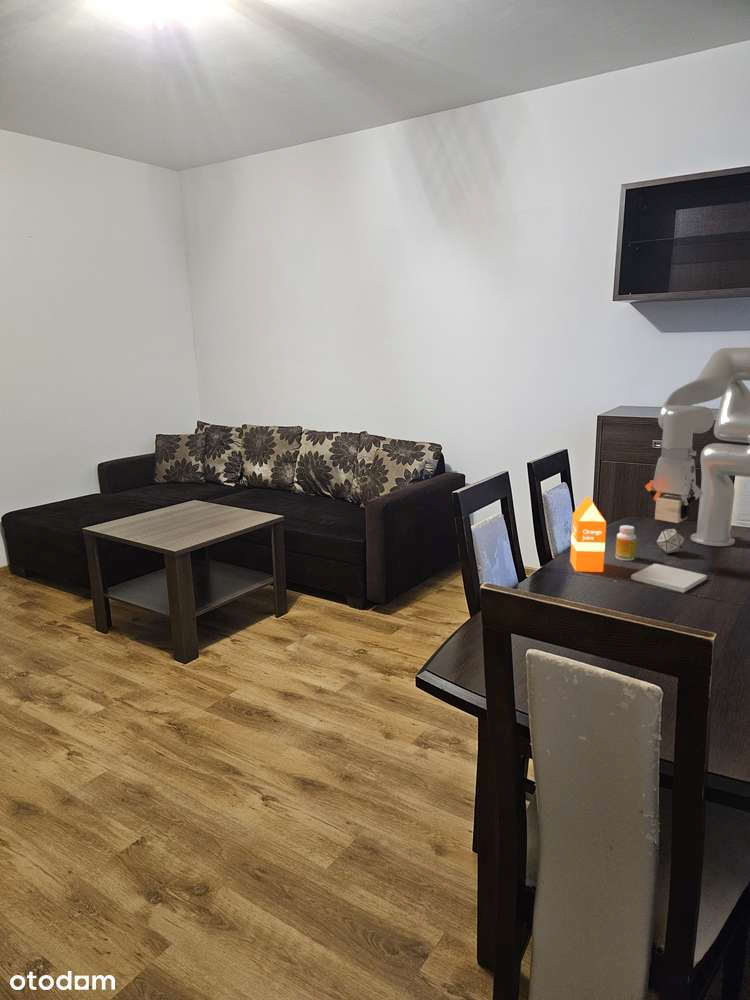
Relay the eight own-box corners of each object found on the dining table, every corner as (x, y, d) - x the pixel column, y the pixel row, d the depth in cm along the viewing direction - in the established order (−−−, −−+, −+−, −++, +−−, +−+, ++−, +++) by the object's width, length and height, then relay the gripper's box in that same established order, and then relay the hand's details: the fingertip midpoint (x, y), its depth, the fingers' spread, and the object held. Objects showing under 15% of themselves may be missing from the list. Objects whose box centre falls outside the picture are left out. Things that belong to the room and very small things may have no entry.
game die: (674, 566, 194) (692, 546, 187) (647, 555, 195) (664, 535, 188) (675, 545, 200) (693, 525, 193) (649, 535, 201) (666, 515, 194)
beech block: (664, 514, 186) (666, 494, 185) (687, 518, 182) (689, 497, 180) (654, 518, 182) (656, 498, 181) (677, 523, 178) (679, 502, 176)
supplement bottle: (632, 562, 187) (635, 530, 185) (613, 559, 190) (615, 527, 188) (636, 557, 192) (638, 525, 189) (617, 554, 194) (619, 523, 192)
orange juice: (596, 562, 188) (601, 495, 183) (603, 572, 179) (608, 502, 175) (569, 561, 189) (573, 495, 184) (574, 571, 180) (578, 502, 176)
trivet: (654, 567, 182) (655, 563, 182) (706, 579, 172) (706, 575, 172) (631, 579, 173) (631, 575, 173) (683, 592, 163) (684, 588, 163)
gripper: (714, 454, 174) (708, 518, 178) (651, 448, 186) (647, 508, 190) (702, 458, 169) (697, 524, 173) (639, 452, 181) (635, 513, 186)
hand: (671, 515), depth 182 cm, fingers closed on beech block, 6 cm apart
